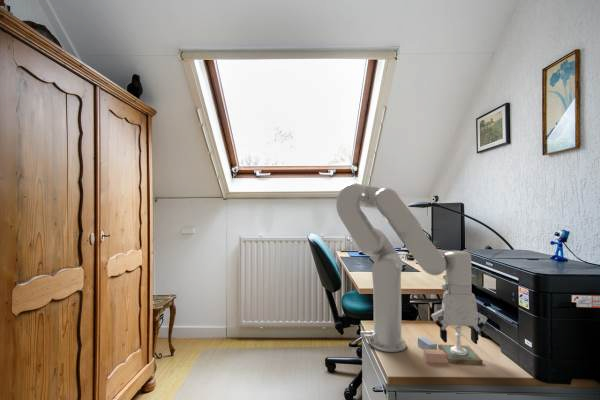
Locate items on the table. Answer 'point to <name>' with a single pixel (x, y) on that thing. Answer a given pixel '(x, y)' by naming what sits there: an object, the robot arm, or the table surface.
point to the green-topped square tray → (454, 358)
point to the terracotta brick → (434, 356)
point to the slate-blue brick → (426, 343)
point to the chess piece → (458, 343)
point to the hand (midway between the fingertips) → (459, 341)
